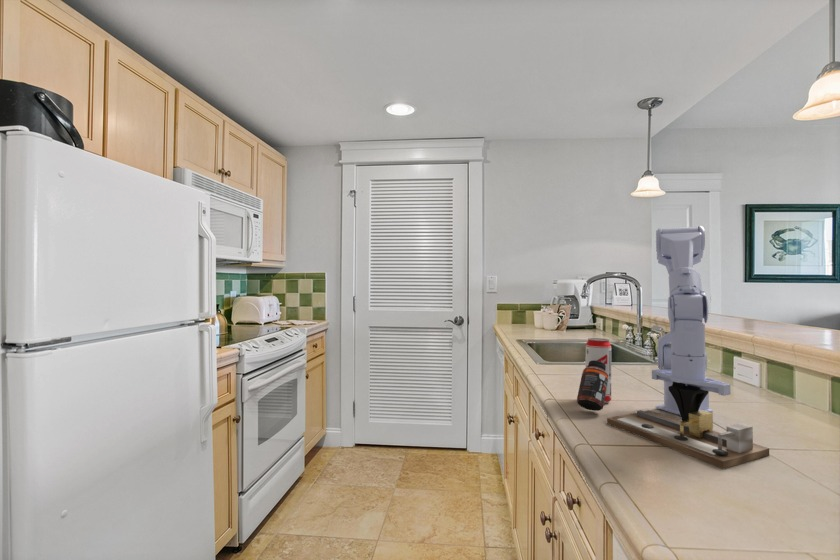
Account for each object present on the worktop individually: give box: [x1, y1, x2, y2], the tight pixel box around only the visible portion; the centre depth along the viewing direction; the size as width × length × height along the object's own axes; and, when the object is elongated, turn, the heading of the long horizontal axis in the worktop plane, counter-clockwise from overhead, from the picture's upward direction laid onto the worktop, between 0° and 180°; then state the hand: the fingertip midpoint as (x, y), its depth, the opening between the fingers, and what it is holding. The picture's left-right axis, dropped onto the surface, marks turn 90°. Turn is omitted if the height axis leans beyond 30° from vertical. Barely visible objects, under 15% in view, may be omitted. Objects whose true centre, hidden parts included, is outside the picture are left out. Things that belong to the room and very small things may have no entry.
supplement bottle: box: [576, 360, 608, 412], centre depth 100 cm, size 6×6×11 cm
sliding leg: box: [680, 410, 714, 438], centre depth 79 cm, size 8×2×4 cm, turn 113°
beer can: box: [584, 337, 612, 405], centre depth 107 cm, size 6×6×16 cm
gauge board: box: [606, 409, 770, 470], centre depth 82 cm, size 13×24×5 cm, turn 23°
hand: (688, 422), depth 82 cm, fingers closed
